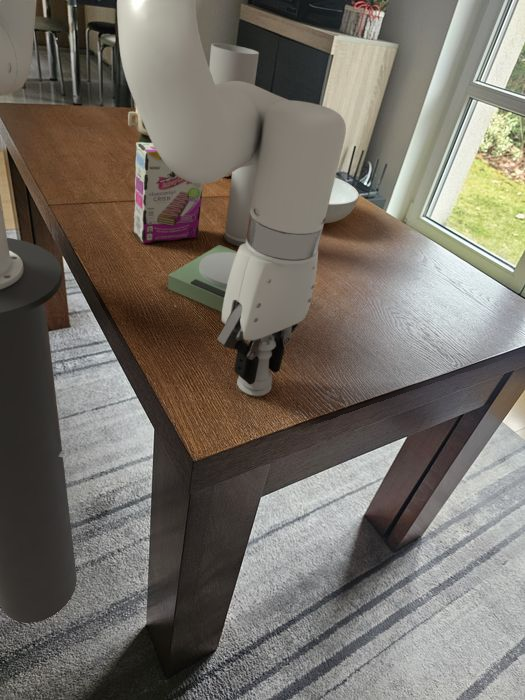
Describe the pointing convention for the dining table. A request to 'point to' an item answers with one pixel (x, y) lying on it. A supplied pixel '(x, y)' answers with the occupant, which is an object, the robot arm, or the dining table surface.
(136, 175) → the candy bar box
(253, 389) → the rook chess piece
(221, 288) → the kitchen scale
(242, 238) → the travel mug
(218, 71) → the cylinder vase
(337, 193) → the serving bowl
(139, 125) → the character mug
